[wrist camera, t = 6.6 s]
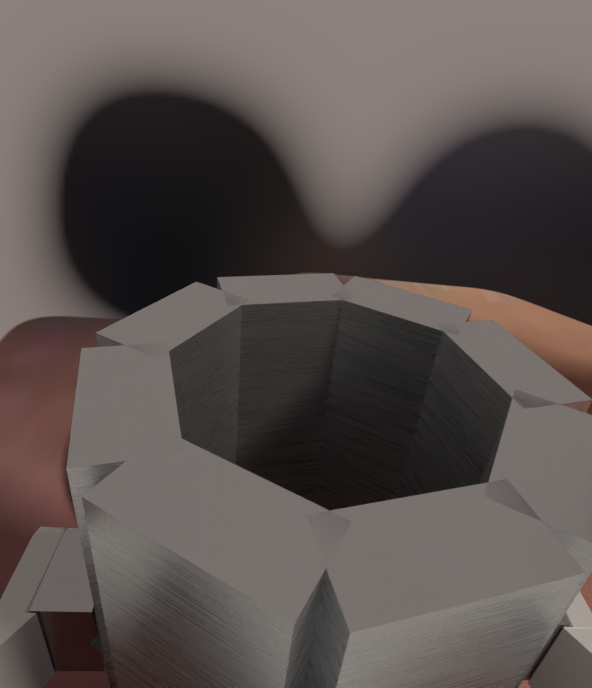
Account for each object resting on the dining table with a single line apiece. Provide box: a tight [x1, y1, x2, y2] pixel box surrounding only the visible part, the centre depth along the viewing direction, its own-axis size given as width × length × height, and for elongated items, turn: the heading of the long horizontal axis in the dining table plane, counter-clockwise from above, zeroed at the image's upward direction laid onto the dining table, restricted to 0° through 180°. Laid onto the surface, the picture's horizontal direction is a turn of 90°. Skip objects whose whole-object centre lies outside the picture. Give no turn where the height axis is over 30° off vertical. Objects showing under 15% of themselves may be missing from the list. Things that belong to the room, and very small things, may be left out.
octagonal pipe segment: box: [66, 273, 592, 688], centre depth 10 cm, size 6×6×12 cm
